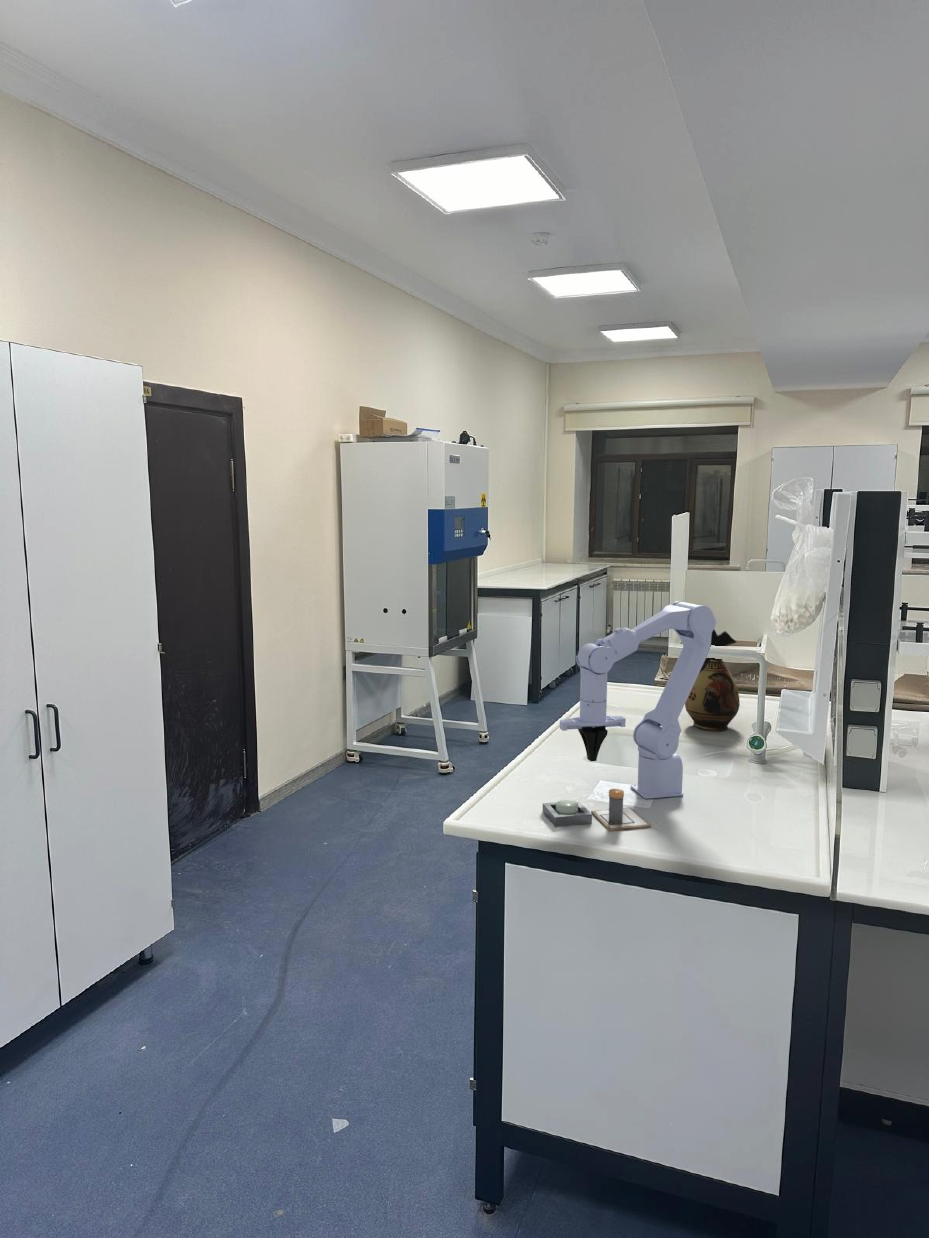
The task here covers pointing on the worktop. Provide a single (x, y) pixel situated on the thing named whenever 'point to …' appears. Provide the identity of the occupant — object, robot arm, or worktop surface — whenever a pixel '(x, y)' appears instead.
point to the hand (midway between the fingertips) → (591, 759)
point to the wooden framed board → (629, 820)
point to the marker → (616, 806)
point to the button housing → (567, 815)
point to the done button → (566, 807)
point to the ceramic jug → (714, 691)
